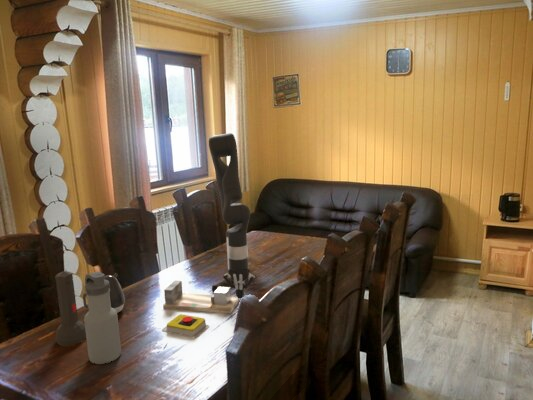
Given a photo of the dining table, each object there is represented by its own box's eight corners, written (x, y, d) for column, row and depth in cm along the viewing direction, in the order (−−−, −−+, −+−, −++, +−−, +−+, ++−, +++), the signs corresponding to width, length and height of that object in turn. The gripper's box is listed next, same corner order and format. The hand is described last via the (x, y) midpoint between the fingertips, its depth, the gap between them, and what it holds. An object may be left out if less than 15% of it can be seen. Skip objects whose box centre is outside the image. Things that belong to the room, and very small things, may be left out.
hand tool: (218, 295, 185) (218, 285, 184) (211, 293, 187) (211, 283, 186) (245, 280, 200) (245, 271, 199) (238, 279, 203) (238, 269, 202)
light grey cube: (219, 298, 177) (218, 286, 176) (231, 298, 176) (230, 287, 175) (214, 304, 171) (213, 292, 170) (226, 305, 170) (225, 293, 169)
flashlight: (49, 345, 148) (74, 348, 145) (40, 275, 143) (65, 277, 140) (70, 331, 157) (93, 334, 154) (61, 265, 152) (85, 267, 150)
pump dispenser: (131, 307, 175) (127, 271, 172) (115, 319, 165) (111, 281, 162) (109, 305, 178) (105, 270, 175) (92, 316, 168) (88, 279, 165)
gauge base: (176, 296, 185) (174, 279, 183) (239, 300, 179) (238, 283, 177) (163, 308, 173) (162, 290, 172) (230, 313, 167) (229, 295, 166)
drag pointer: (216, 297, 177) (215, 291, 177) (218, 298, 177) (218, 291, 177) (208, 308, 168) (207, 300, 168) (210, 308, 168) (210, 300, 167)
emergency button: (196, 327, 149) (159, 320, 154) (196, 339, 150) (160, 332, 155) (209, 315, 157) (174, 309, 163) (210, 327, 158) (175, 320, 164)
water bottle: (83, 356, 140) (73, 274, 134) (112, 345, 146) (103, 266, 141) (96, 369, 133) (86, 282, 127) (126, 356, 139) (118, 273, 134)
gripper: (257, 253, 170) (258, 294, 174) (224, 252, 173) (227, 292, 177) (252, 259, 163) (254, 302, 167) (218, 258, 166) (221, 300, 170)
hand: (240, 297), depth 172 cm, fingers closed
